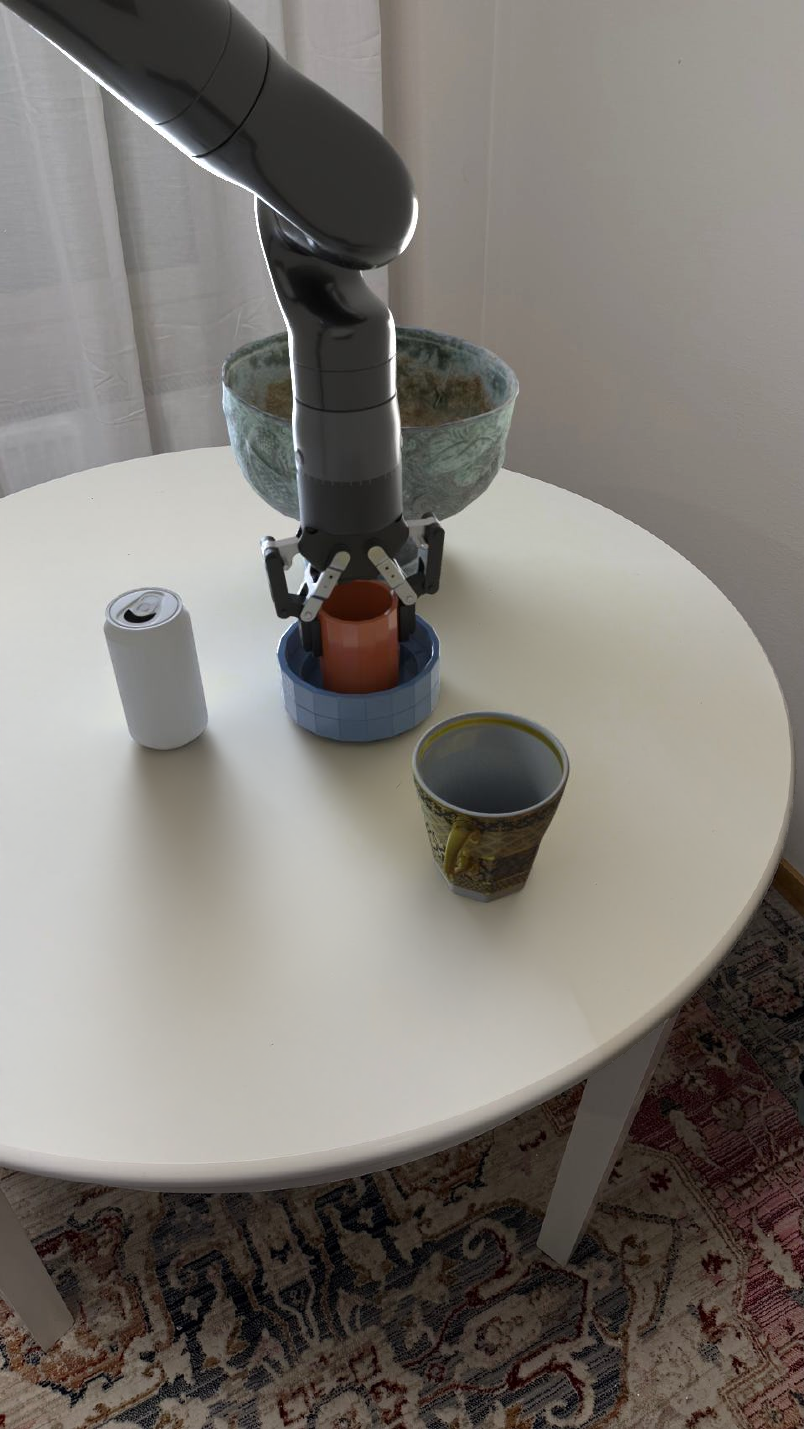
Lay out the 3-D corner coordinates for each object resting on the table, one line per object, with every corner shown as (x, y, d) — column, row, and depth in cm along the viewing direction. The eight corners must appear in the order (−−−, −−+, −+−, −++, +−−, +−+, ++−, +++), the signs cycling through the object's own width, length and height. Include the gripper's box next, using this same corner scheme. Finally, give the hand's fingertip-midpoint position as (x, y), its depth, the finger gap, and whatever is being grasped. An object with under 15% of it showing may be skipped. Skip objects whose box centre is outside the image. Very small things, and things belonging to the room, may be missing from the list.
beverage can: (116, 749, 80) (83, 625, 72) (150, 699, 85) (123, 578, 77) (191, 761, 79) (165, 637, 71) (221, 709, 84) (200, 588, 76)
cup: (330, 711, 81) (324, 630, 76) (315, 664, 86) (307, 585, 81) (408, 697, 82) (407, 616, 77) (388, 651, 87) (386, 572, 82)
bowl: (298, 760, 79) (293, 711, 76) (271, 662, 89) (265, 615, 85) (459, 730, 81) (460, 681, 78) (415, 637, 91) (415, 591, 88)
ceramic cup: (441, 799, 75) (442, 696, 69) (571, 834, 72) (586, 729, 66) (374, 930, 66) (369, 825, 60) (521, 976, 63) (532, 871, 57)
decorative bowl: (185, 547, 103) (159, 353, 90) (375, 472, 116) (378, 294, 103) (349, 672, 88) (348, 463, 75) (546, 571, 101) (574, 378, 88)
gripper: (431, 419, 75) (430, 605, 86) (239, 443, 72) (263, 632, 83) (461, 463, 69) (457, 656, 80) (254, 491, 67) (278, 687, 77)
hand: (358, 643), depth 82 cm, fingers closed on cup, 6 cm apart
